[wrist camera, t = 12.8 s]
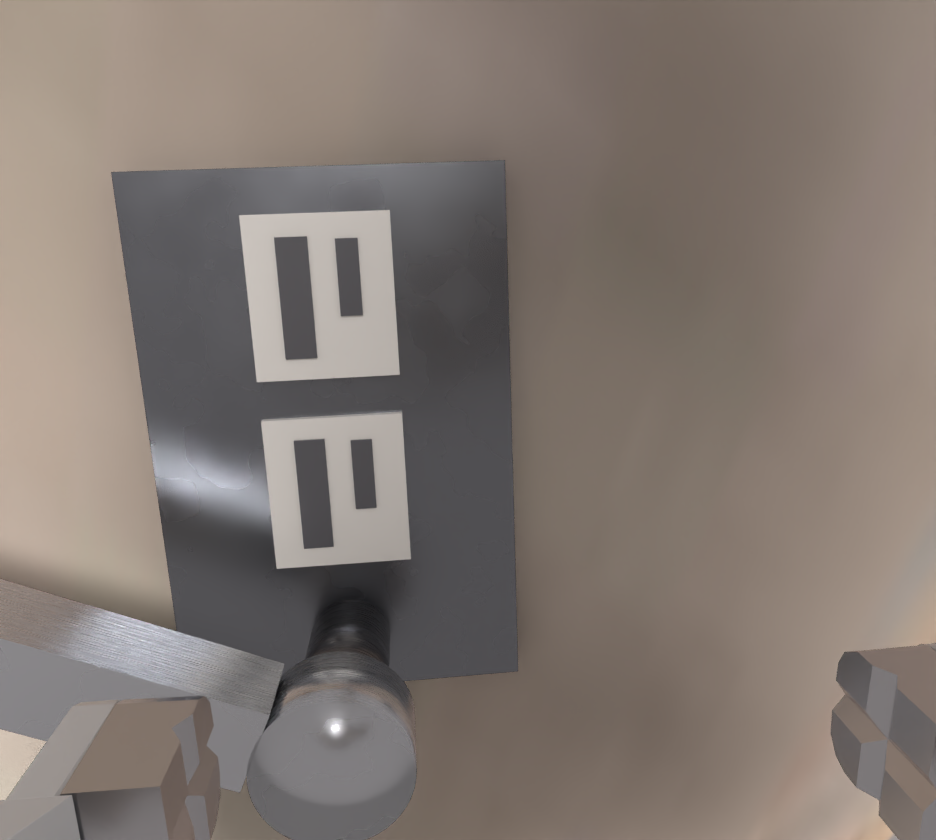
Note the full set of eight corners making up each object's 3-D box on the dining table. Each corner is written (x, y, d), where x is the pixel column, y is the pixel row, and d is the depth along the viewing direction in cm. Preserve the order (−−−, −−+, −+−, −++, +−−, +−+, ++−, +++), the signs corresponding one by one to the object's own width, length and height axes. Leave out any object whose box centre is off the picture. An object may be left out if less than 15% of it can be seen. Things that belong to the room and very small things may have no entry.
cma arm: (-323, 600, 19) (-443, 658, 16) (-292, 449, 18) (-413, 483, 16) (384, 794, 22) (382, 870, 20) (436, 672, 22) (441, 733, 19)
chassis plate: (123, 175, 23) (111, 172, 22) (500, 163, 24) (504, 160, 23) (194, 683, 27) (186, 699, 26) (513, 656, 28) (518, 671, 27)
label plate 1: (240, 215, 22) (238, 215, 22) (389, 210, 23) (389, 209, 22) (258, 380, 24) (256, 382, 23) (399, 373, 24) (399, 375, 24)
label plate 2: (262, 419, 24) (260, 422, 24) (402, 411, 24) (402, 413, 24) (278, 565, 25) (276, 570, 25) (410, 555, 26) (410, 560, 25)
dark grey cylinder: (308, 602, 26) (288, 674, 21) (387, 596, 26) (385, 666, 21) (315, 673, 26) (297, 757, 22) (392, 667, 26) (390, 749, 22)
